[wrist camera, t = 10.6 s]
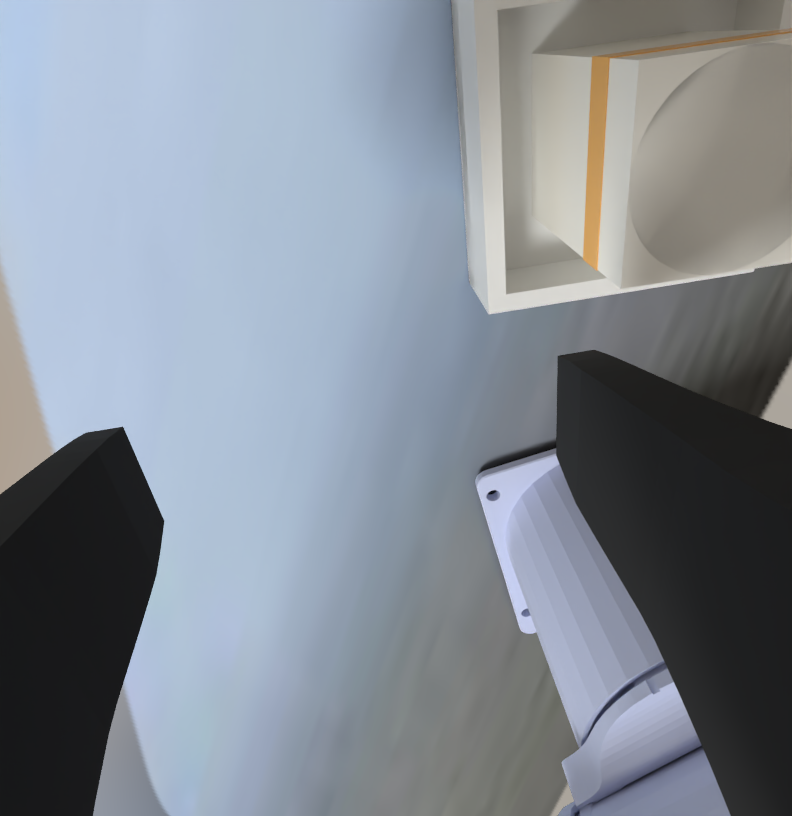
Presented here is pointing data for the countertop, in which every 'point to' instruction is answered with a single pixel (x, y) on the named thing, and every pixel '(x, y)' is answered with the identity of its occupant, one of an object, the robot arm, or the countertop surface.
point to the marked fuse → (667, 153)
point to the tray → (512, 128)
